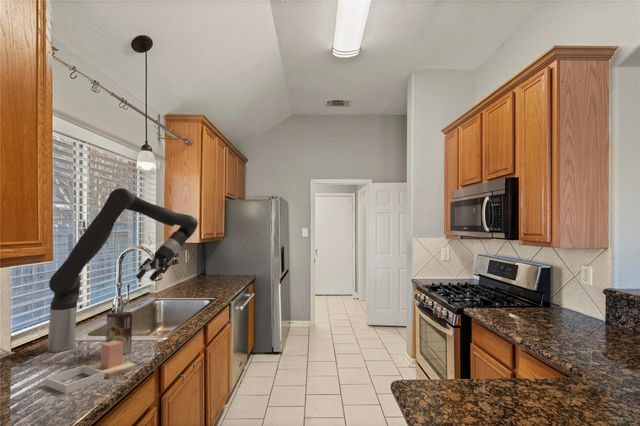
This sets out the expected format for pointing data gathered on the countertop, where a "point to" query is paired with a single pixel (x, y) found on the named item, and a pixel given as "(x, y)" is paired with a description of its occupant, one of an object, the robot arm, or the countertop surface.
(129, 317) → the coffee box
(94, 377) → the square frame
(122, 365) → the maple board
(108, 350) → the terracotta block
